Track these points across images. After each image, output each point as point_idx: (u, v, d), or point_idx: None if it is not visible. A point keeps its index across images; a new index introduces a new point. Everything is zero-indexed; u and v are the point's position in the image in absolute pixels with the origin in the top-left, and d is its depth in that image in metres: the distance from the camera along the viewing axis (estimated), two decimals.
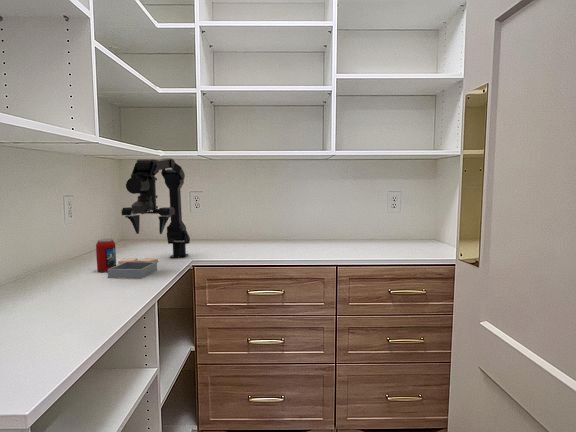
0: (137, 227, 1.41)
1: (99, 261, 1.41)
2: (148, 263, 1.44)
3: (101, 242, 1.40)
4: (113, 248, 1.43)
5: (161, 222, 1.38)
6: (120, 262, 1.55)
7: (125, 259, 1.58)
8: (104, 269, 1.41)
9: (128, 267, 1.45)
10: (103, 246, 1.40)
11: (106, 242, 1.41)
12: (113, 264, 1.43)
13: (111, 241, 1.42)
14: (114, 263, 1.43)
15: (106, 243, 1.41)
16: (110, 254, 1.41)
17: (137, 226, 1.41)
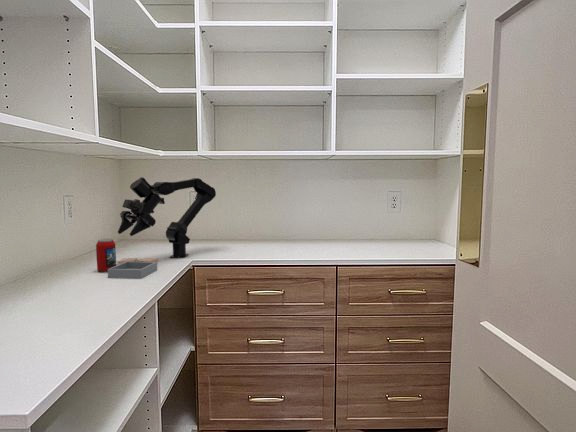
0: (122, 228, 1.52)
1: (99, 261, 1.41)
2: (148, 263, 1.44)
3: (101, 242, 1.40)
4: (113, 248, 1.43)
5: (136, 224, 1.46)
6: (120, 262, 1.55)
7: (125, 259, 1.58)
8: (104, 269, 1.41)
9: (128, 267, 1.45)
10: (103, 246, 1.40)
11: (106, 242, 1.41)
12: (113, 264, 1.43)
13: (111, 241, 1.42)
14: (114, 263, 1.43)
15: (106, 243, 1.41)
16: (110, 254, 1.41)
17: (123, 227, 1.53)
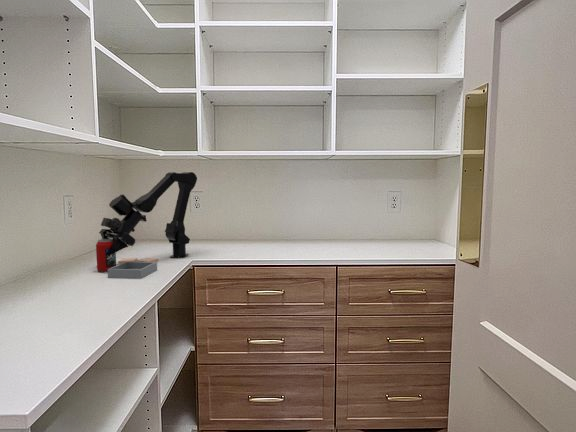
0: None
1: (99, 261, 1.41)
2: (148, 263, 1.44)
3: (101, 242, 1.40)
4: None
5: (113, 243, 1.41)
6: (120, 262, 1.55)
7: (125, 259, 1.58)
8: (104, 269, 1.41)
9: (128, 267, 1.45)
10: (103, 246, 1.40)
11: (106, 242, 1.41)
12: (113, 264, 1.43)
13: (111, 241, 1.42)
14: (114, 263, 1.43)
15: (106, 243, 1.41)
16: None
17: None
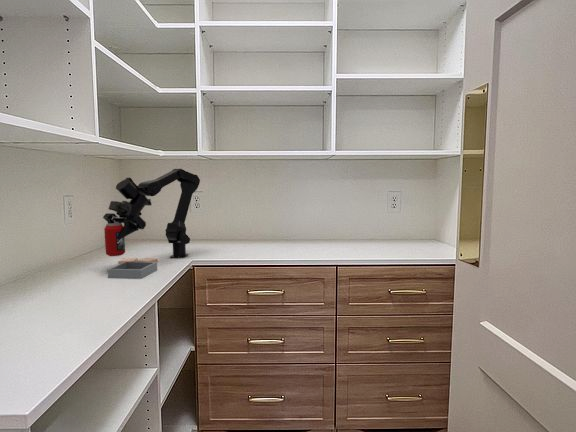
0: None
1: (108, 245, 1.37)
2: (148, 263, 1.44)
3: (111, 226, 1.37)
4: None
5: (124, 227, 1.38)
6: (120, 262, 1.55)
7: (125, 259, 1.58)
8: (114, 253, 1.38)
9: (128, 267, 1.45)
10: (113, 230, 1.37)
11: (116, 226, 1.38)
12: (123, 248, 1.40)
13: (120, 225, 1.39)
14: (124, 247, 1.41)
15: (116, 226, 1.37)
16: None
17: None
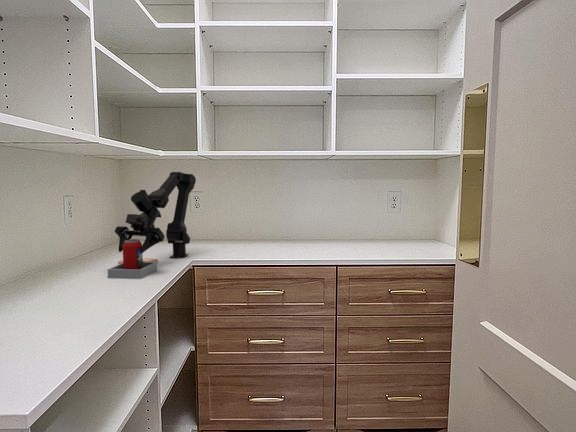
0: (122, 245, 1.39)
1: (129, 262, 1.35)
2: (148, 263, 1.44)
3: (131, 243, 1.35)
4: None
5: (146, 240, 1.37)
6: (120, 262, 1.55)
7: None
8: None
9: None
10: (134, 246, 1.35)
11: (136, 242, 1.36)
12: (142, 265, 1.39)
13: (139, 241, 1.38)
14: (142, 264, 1.40)
15: (136, 243, 1.36)
16: (140, 254, 1.37)
17: (122, 245, 1.39)
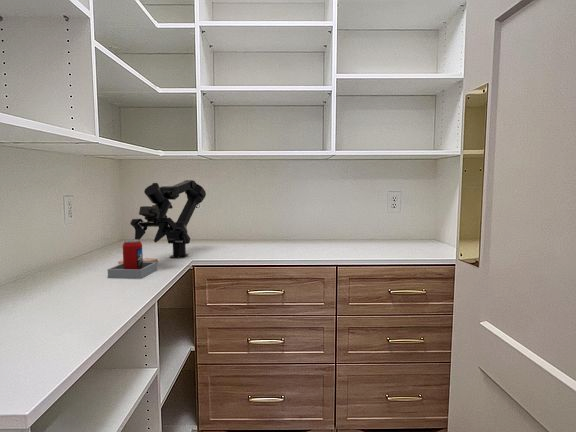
0: (138, 236, 1.48)
1: (129, 262, 1.35)
2: (148, 263, 1.44)
3: (131, 243, 1.35)
4: None
5: (159, 230, 1.45)
6: (120, 262, 1.55)
7: None
8: None
9: None
10: (134, 247, 1.35)
11: (136, 242, 1.36)
12: (142, 265, 1.39)
13: (139, 241, 1.38)
14: (142, 264, 1.40)
15: (137, 243, 1.36)
16: (140, 254, 1.37)
17: (138, 236, 1.48)
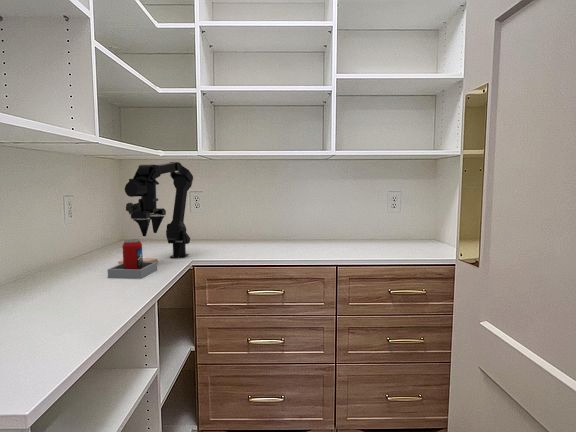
0: (154, 227, 1.54)
1: (129, 262, 1.35)
2: (148, 263, 1.44)
3: (131, 243, 1.35)
4: (141, 248, 1.39)
5: None
6: (120, 262, 1.55)
7: None
8: None
9: None
10: (134, 246, 1.35)
11: (136, 242, 1.36)
12: (142, 265, 1.39)
13: (139, 241, 1.38)
14: (142, 264, 1.40)
15: (136, 243, 1.36)
16: (140, 254, 1.37)
17: (154, 226, 1.54)
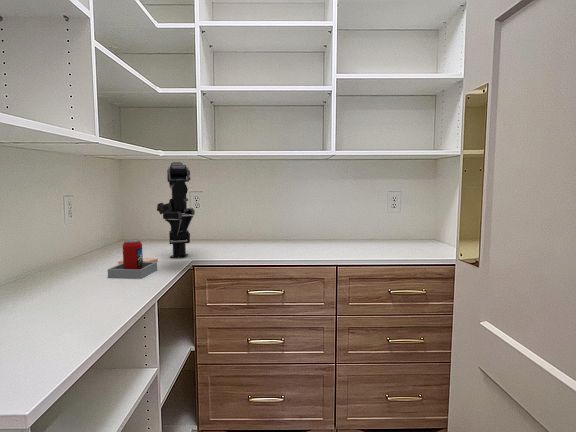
0: (184, 227, 1.54)
1: (129, 262, 1.35)
2: (148, 263, 1.44)
3: (131, 243, 1.35)
4: (141, 248, 1.39)
5: None
6: (120, 262, 1.55)
7: None
8: None
9: None
10: (134, 247, 1.35)
11: (136, 242, 1.36)
12: (142, 265, 1.39)
13: (139, 241, 1.38)
14: (142, 264, 1.40)
15: (137, 243, 1.36)
16: (140, 254, 1.37)
17: (184, 226, 1.54)
